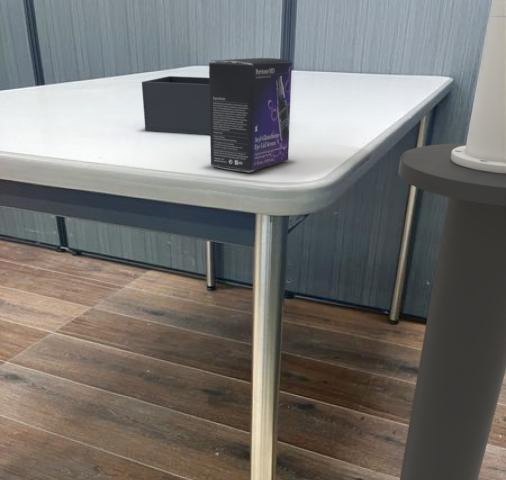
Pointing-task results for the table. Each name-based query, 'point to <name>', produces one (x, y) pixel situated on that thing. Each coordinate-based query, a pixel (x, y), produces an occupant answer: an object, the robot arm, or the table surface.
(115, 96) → the table surface
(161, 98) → the box
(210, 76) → the box
